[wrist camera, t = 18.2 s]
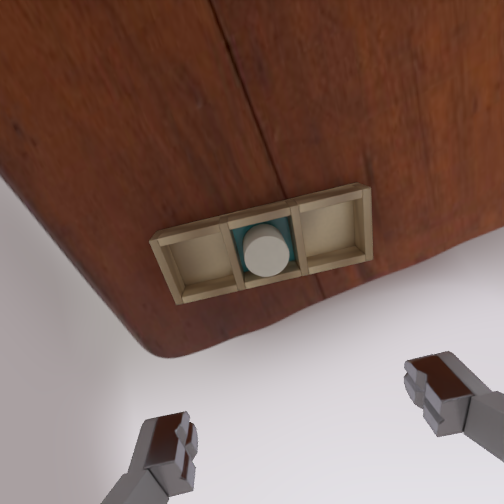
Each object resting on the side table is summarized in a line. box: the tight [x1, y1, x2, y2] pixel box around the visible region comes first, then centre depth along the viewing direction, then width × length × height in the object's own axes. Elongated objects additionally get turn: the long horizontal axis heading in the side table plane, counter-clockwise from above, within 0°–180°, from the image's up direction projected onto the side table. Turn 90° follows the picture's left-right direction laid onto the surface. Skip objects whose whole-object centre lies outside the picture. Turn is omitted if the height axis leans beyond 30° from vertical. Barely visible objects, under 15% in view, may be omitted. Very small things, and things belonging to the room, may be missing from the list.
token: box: [243, 224, 289, 277], centre depth 22 cm, size 4×4×3 cm
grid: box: [149, 182, 373, 305], centre depth 23 cm, size 18×6×2 cm, turn 103°
